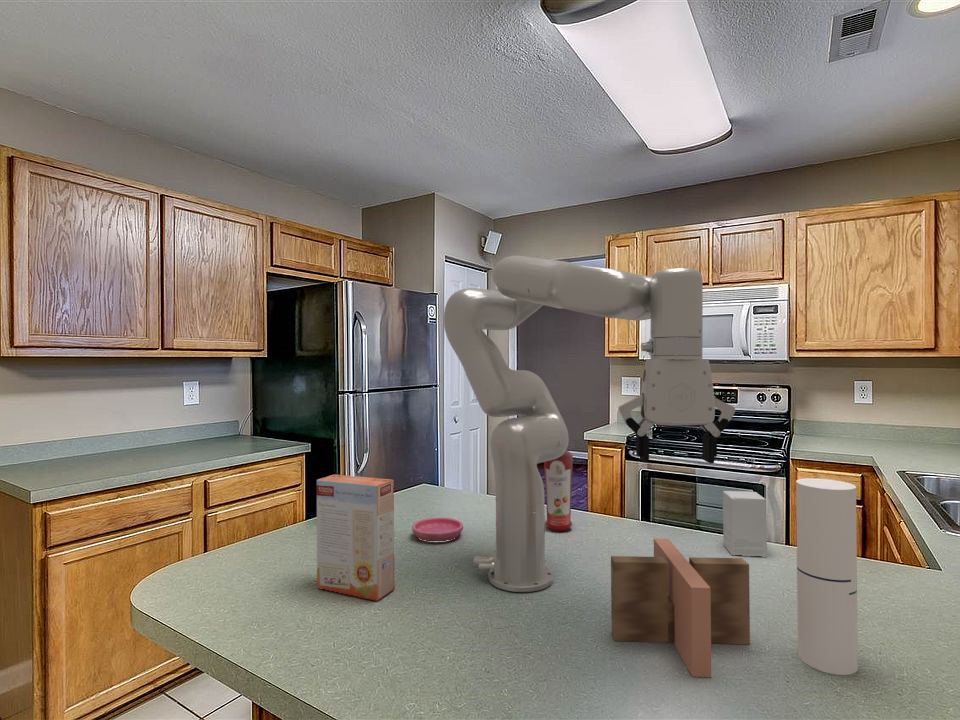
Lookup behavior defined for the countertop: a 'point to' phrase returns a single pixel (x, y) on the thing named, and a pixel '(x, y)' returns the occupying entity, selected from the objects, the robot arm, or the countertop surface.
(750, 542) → the supplement box
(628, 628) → the walnut slotted plate
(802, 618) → the cylindrical container
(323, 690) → the countertop surface
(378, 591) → the cracker box
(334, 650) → the countertop surface
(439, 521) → the saucer
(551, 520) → the liquor
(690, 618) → the terracotta slotted plate
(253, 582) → the countertop surface
